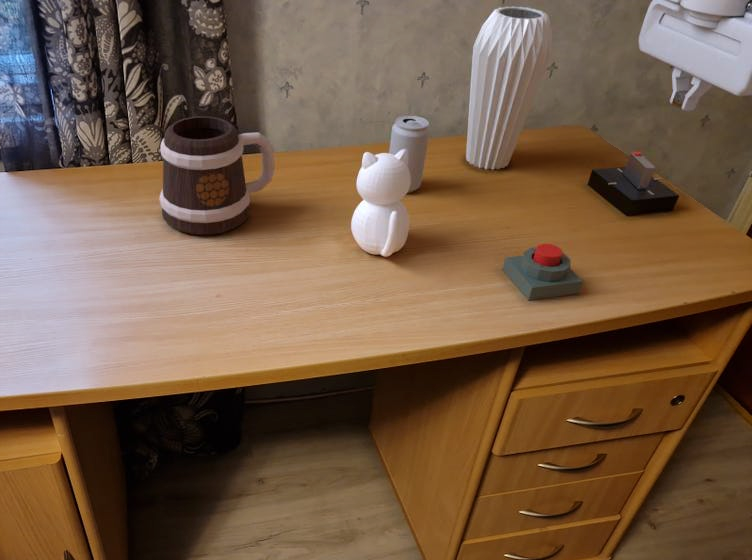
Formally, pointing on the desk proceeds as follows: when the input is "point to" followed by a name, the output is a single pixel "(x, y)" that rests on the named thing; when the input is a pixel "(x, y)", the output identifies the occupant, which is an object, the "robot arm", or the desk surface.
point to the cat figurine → (382, 203)
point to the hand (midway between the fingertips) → (681, 107)
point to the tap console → (632, 192)
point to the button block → (541, 276)
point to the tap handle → (639, 170)
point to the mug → (208, 175)
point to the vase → (505, 81)
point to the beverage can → (411, 145)
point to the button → (548, 255)
